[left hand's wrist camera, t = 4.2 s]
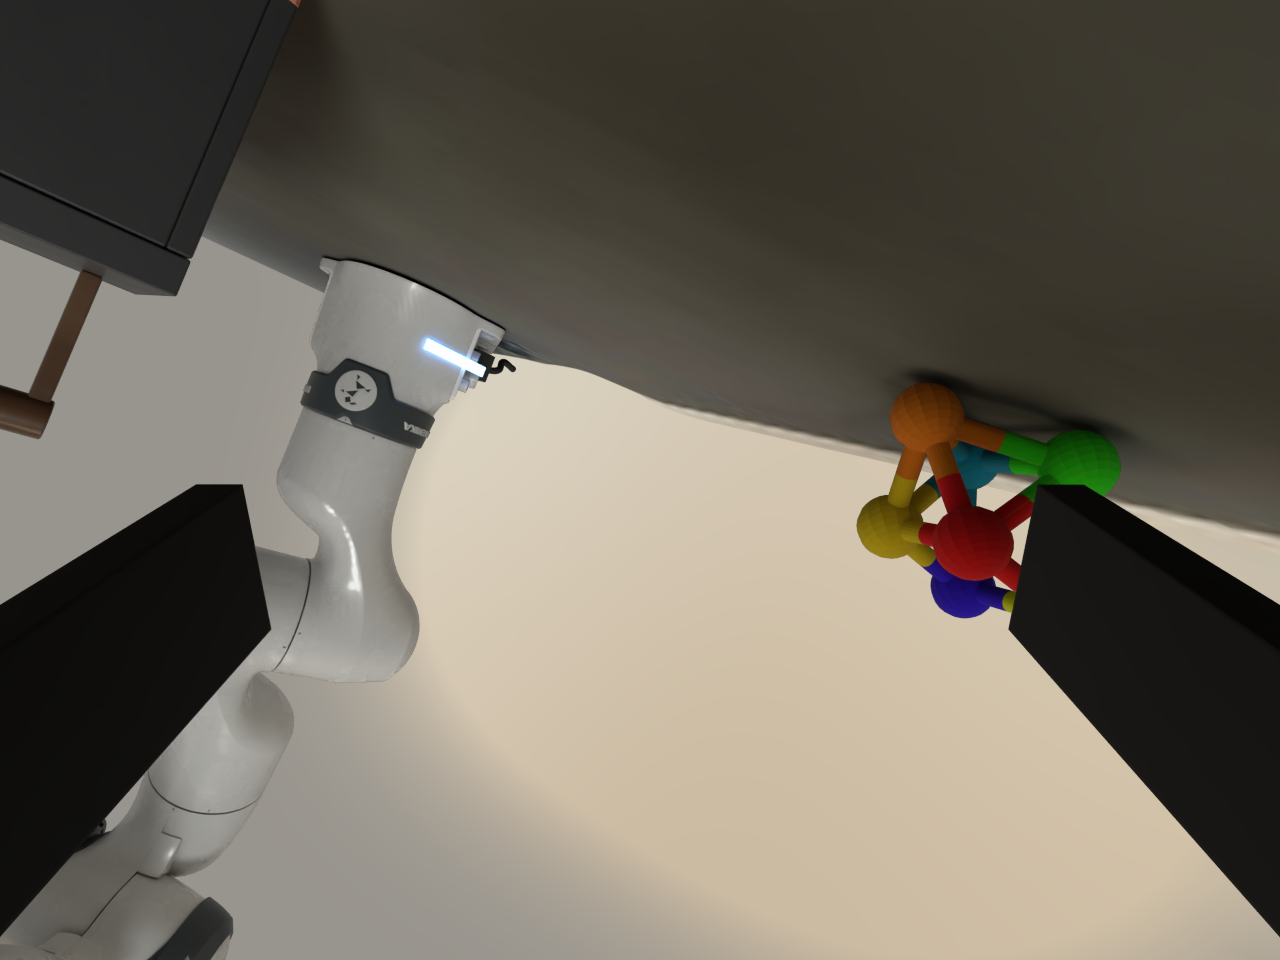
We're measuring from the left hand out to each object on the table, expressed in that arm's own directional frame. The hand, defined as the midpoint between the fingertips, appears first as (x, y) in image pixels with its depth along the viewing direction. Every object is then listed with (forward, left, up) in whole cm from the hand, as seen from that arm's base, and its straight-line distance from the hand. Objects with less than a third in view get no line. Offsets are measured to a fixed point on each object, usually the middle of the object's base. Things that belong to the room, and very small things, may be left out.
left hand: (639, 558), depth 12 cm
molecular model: (-19, +29, -14) cm, 37 cm away
